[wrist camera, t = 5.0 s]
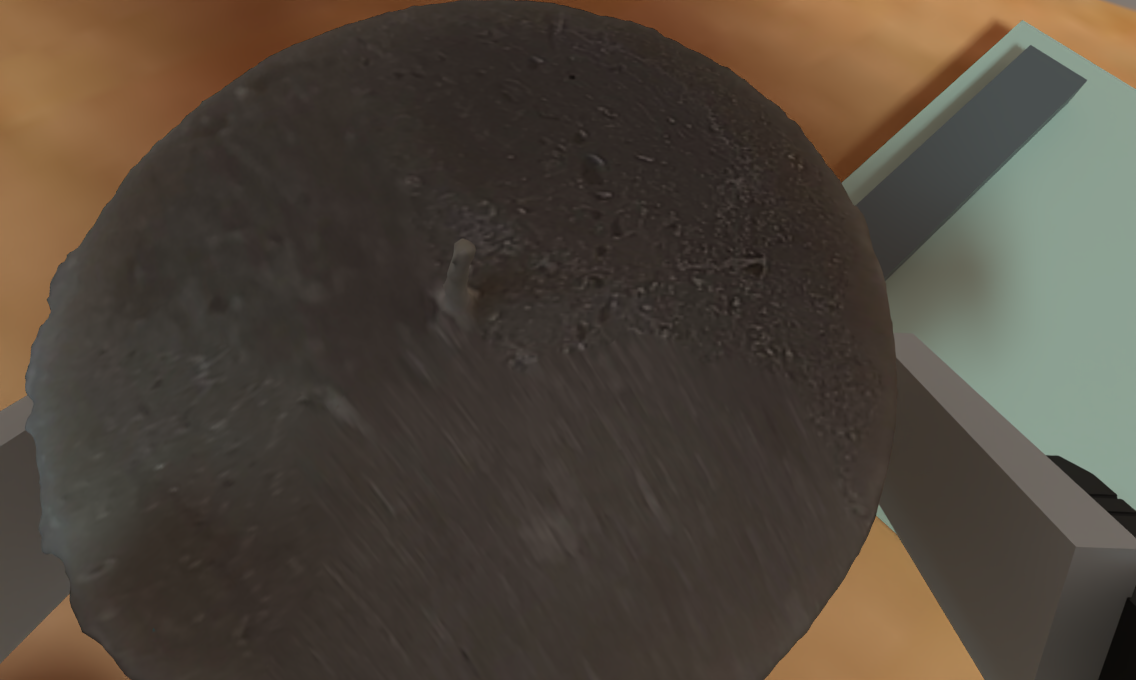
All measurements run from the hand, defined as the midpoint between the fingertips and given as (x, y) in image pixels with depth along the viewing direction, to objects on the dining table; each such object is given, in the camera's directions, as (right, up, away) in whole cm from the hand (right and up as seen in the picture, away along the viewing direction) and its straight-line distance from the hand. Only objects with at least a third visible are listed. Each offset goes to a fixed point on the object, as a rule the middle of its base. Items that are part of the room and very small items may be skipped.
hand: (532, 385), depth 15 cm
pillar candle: (0, -4, +6) cm, 8 cm away
